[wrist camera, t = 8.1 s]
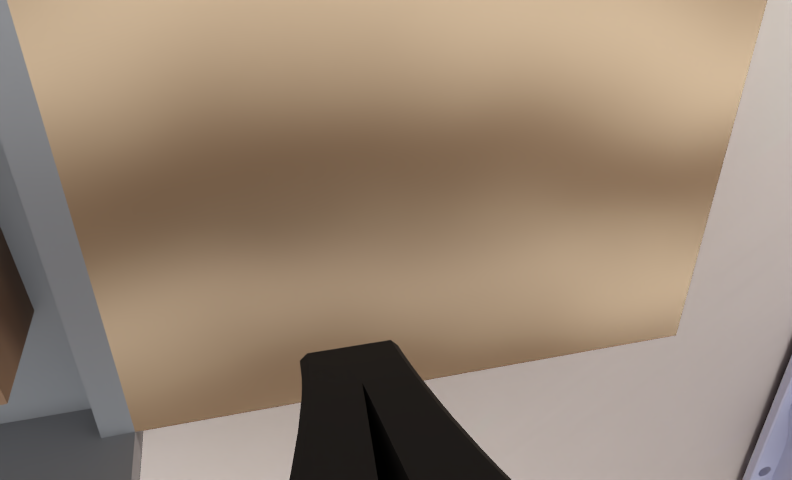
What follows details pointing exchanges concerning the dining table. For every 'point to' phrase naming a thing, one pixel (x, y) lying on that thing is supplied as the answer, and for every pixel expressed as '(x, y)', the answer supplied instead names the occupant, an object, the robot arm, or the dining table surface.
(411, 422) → the robot arm
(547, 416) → the dining table surface
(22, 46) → the oak board
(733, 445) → the dining table surface
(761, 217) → the dining table surface
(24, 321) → the brown wooden block
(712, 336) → the dining table surface
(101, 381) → the tray
